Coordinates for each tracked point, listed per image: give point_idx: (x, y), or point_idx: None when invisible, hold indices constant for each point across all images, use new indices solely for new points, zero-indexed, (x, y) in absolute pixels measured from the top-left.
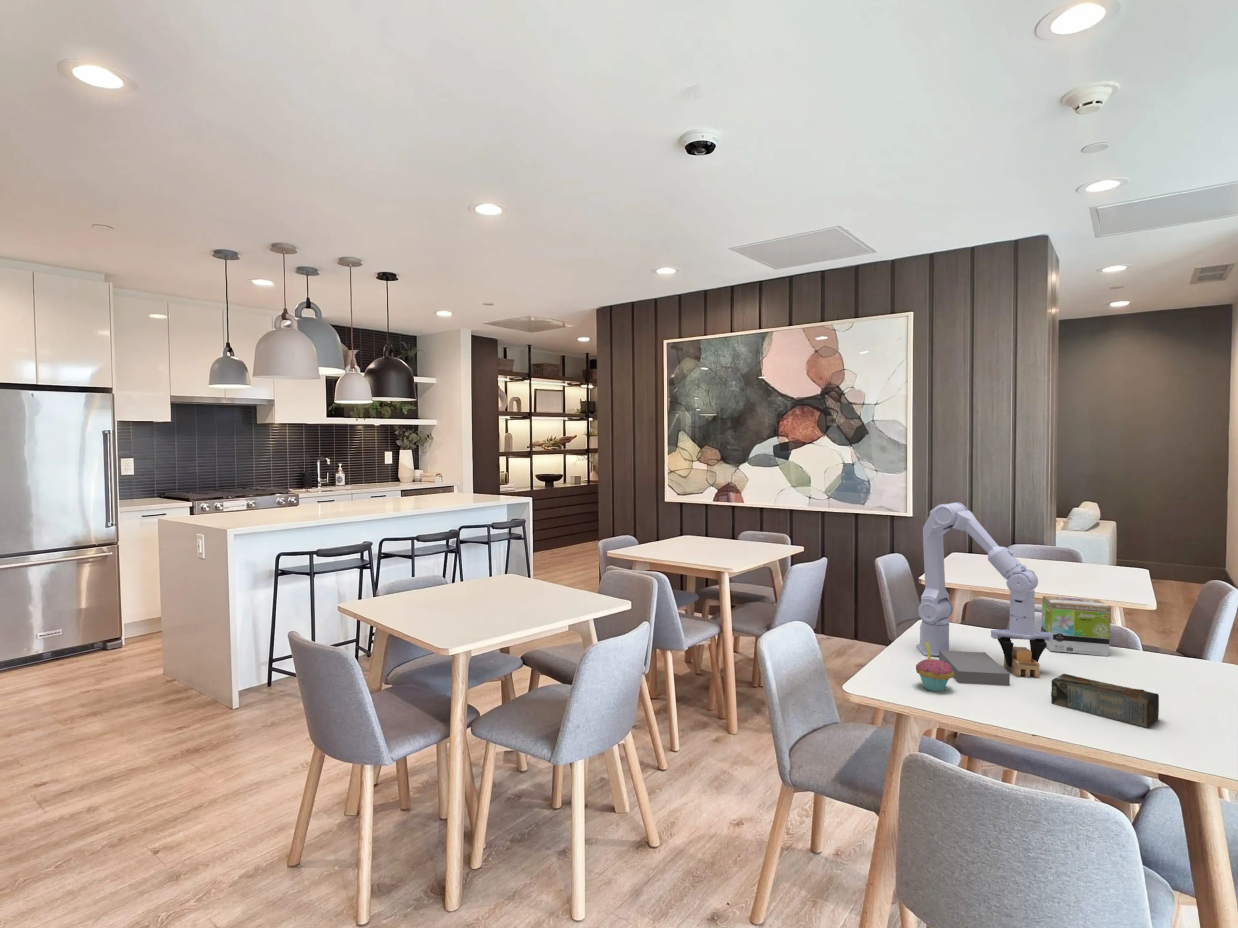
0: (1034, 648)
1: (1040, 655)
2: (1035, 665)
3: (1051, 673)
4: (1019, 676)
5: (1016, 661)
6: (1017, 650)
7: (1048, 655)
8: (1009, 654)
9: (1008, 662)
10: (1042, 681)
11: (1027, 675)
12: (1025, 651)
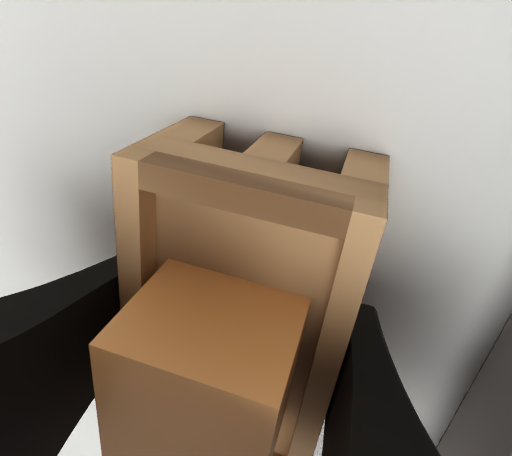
0: (22, 391)
1: (27, 291)
2: (166, 157)
3: (66, 215)
4: (360, 152)
5: (361, 257)
6: (261, 421)
7: None
8: (387, 398)
9: (380, 336)
10: (205, 6)
11: (285, 139)
12: (166, 367)
